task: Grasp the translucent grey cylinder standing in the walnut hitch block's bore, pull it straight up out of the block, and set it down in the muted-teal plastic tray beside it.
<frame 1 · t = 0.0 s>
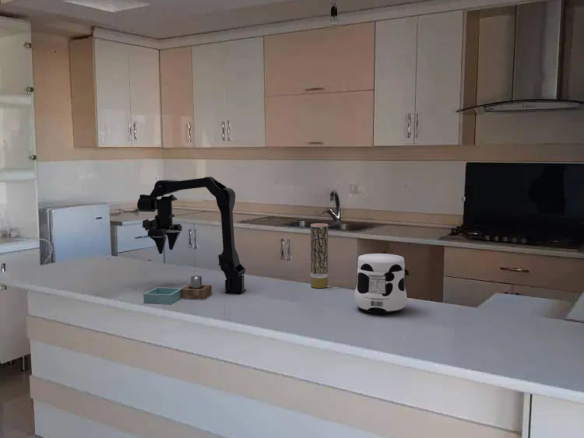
hand: (165, 251, 222), 15 cm above the countertop, fingers open, 9 cm apart
hitch block: (196, 296, 210), on the countertop
bark textured cylinder: (319, 287, 225), on the countertop
translucent grey cylinder: (196, 286, 210), in the hitch block
tray: (163, 299, 205), on the countertop
milk container: (380, 310, 191), on the countertop
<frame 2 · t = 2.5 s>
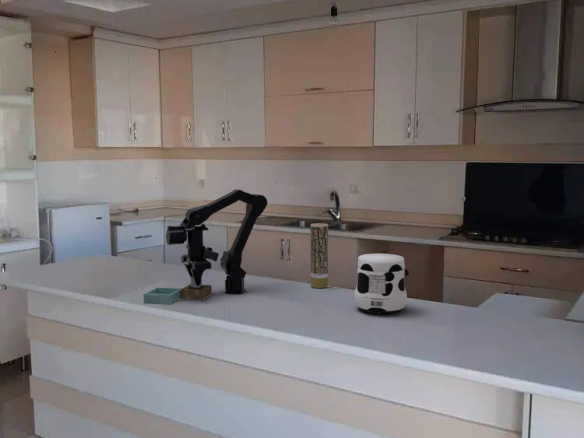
hand: (196, 284, 210), 5 cm above the countertop, fingers closed on translucent grey cylinder, 4 cm apart
translucent grey cylinder: (196, 286, 210), in the hitch block, touching gripper
everything else where it was.
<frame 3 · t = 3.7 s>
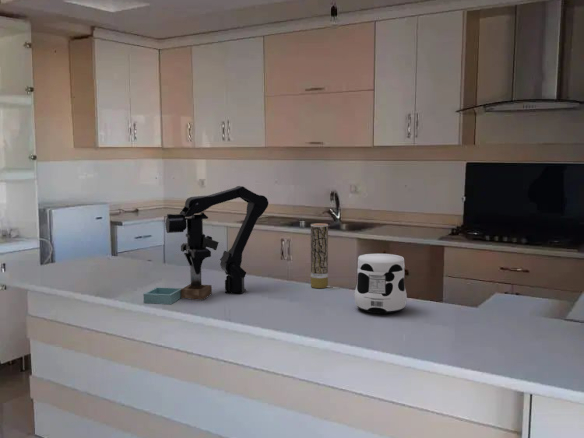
hand: (195, 273, 209), 9 cm above the countertop, fingers closed on translucent grey cylinder, 4 cm apart
translucent grey cylinder: (195, 275, 209), point 8 cm above the countertop, touching gripper
everything else where it was.
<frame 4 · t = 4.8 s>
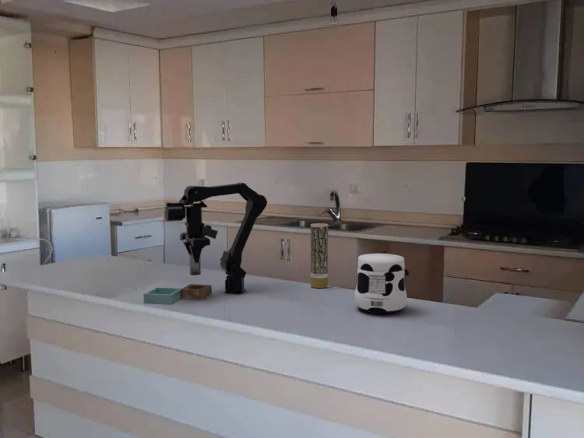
hand: (195, 262, 209), 13 cm above the countertop, fingers closed on translucent grey cylinder, 4 cm apart
translucent grey cylinder: (195, 264, 209), point 12 cm above the countertop, touching gripper
everything else where it was.
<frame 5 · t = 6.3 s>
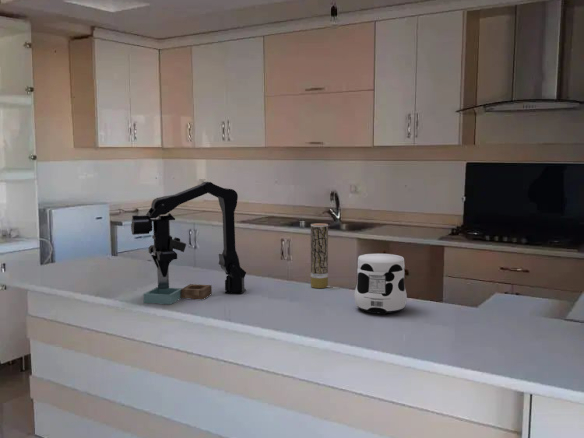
hand: (163, 275, 205), 9 cm above the countertop, fingers closed on translucent grey cylinder, 4 cm apart
translucent grey cylinder: (163, 277, 205), point 8 cm above the countertop, touching gripper
everything else where it was.
when the fingers open (7 cm above the countertop, at t = 7.4 s): translucent grey cylinder drops 1 cm, resting on tray.
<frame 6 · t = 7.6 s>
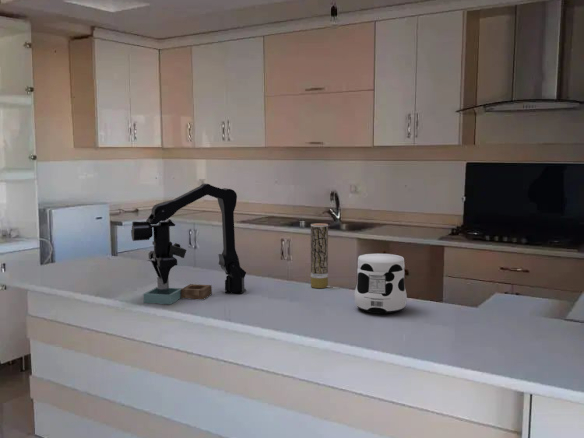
hand: (163, 281, 205), 7 cm above the countertop, fingers open, 6 cm apart
translucent grey cylinder: (163, 287, 205), in the tray, point 5 cm above the countertop
everything else where it was.
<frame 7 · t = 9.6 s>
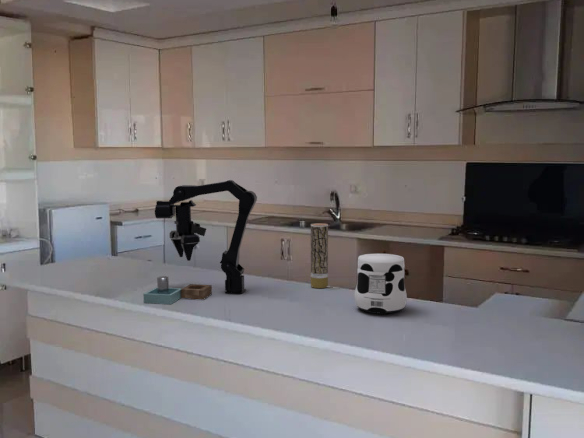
hand: (185, 258, 217), 13 cm above the countertop, fingers open, 9 cm apart
nothing on the countertop moved.
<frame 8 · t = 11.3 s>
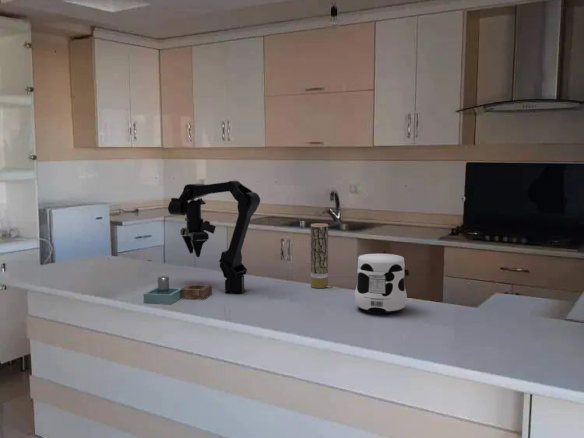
hand: (194, 255, 223), 13 cm above the countertop, fingers open, 9 cm apart
nothing on the countertop moved.
at the end: translucent grey cylinder inside the target area on the tray (0.0 cm from its centre), point 4.6 cm above the tray's base; translucent grey cylinder moved 12.2 cm from its start; the gripper is holding nothing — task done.
